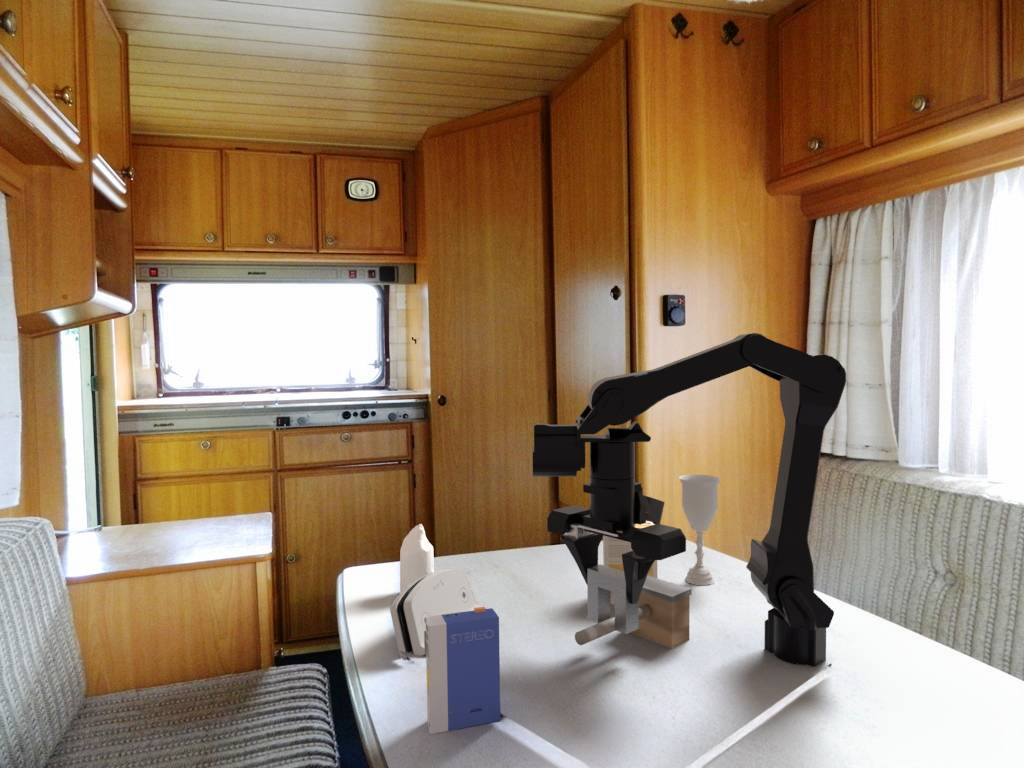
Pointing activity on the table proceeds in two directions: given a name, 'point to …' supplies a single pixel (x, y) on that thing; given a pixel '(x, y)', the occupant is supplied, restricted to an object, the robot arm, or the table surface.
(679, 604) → the wooden mallet
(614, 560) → the supplement box
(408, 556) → the white tall chunk
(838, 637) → the table surface
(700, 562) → the chalice
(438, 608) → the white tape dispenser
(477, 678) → the walkman
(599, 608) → the metal u-shaped block
